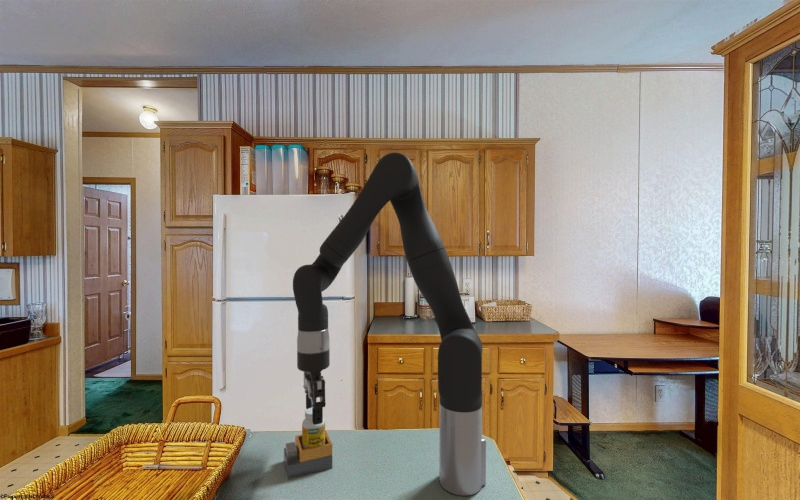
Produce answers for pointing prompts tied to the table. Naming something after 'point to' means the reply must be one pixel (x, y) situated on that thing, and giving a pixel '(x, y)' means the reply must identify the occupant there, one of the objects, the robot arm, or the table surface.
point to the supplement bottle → (312, 431)
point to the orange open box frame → (307, 458)
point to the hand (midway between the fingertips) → (313, 415)
